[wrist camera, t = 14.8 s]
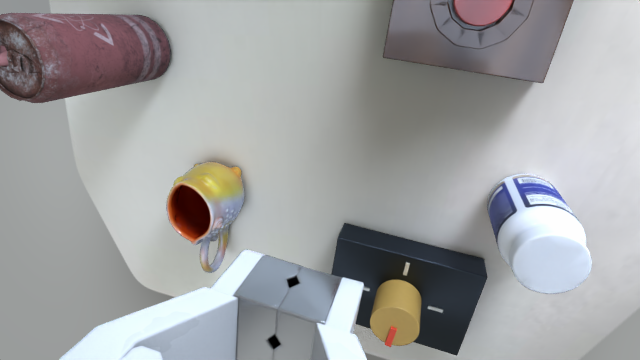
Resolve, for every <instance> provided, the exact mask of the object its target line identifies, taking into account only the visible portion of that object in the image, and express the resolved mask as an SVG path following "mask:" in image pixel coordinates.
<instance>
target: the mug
mask: <svg viewBox="0 0 640 360" xmlns="http://www.w3.org/2000/svg"><path fill="white" fill-rule="evenodd" d="M243 202H244V187H243V183H242V180H241V170H240V168H238V167H232V168H230V167H227V166H225V165H223V164H220V163H216V162H205V163H201V164H195V165H194V167H193V168H192V169H190V170H189V171H188V172H187V173H185V174H184V175H183V176H181V177H178V178H177V179H176V180H175V181H174V184H173V187H172V188H171V190H170V193H169V195H168V198H167V205H166V210H167V215H168V218H169V221H170V223H171V225H172V226H173V228H174V229H175V230H176V232H178V233H179V234H180V235H181V236H182V237H184V238H186V239H188V240H189V241H191V242H192V244H193V245H197V244H199V243H201V242H202V244H201V249H200V263H201V266H202V268H203V270H204V271H205V272H208V273H212V272H215V271H216V270H217V269H218V268H219V266H220V265H221V263H222V261H223V258H224V255H225V251H226V247H227V240H228V230H229V225H230V224H231V223H232V221H233V220H235V219H236V217H237V215H238V214H239V212H240V210H241V208H242V205H243ZM218 235H219V243H218V250H217V254H216V256H215V259H214V261H213V263H212V264H211V265H209V263H208V248H209V243H210V241H216V240H217V238H218Z"/></svg>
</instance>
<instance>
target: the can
mask: <svg viewBox="0 0 640 360" xmlns="http://www.w3.org/2000/svg"><path fill="white" fill-rule="evenodd" d="M170 54H171V50H170V45H169V41H168V39H167V37H166V35H165V33H164V32H163V30H162V29H161V28H160V27H159V26H158V24H157V23H155V22H154V21H153V20H151V19H150V18H148V17H145V16H142V15H111V14H41V13H8V14H1V15H0V90H1V91H3V92H4V93H5V94H7V95H8V96H10V97H12V98H14V99H17V100H20V101H21V100H25V101H28V102H31V103H43V102H48V101H53V100H57V99H62V98H67V97H72V96H77V95H81V94H86V93H91V92H96V91H101V90H105V89H110V88H115V87H120V86H124V85H129V84H134V83H139V82H143V81H148V80H153V79H156V78H158V77H160V76H161V75H162V74H163V73H164V72H165V71H166V70H167V67H168V64H169V61H170Z"/></svg>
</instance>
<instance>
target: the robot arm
mask: <svg viewBox="0 0 640 360" xmlns="http://www.w3.org/2000/svg"><path fill="white" fill-rule="evenodd" d="M363 287H364V283H363V282H360V281H356V280H352V279H348V278H344V277H343V278H342V277H338V276H335V275H331V274H327V273H324V272H320V271H317V270H313V269H310V268H306V267H303V266H300V265H297V264H294V263H291V262H287V261H284V260H281V259H278V258H275V257H271V256H268V255H264V254H261V253H258V252H254V251H251V250H248V249H246V250H244V251H242V252H241V253H240V254H239V255H238V257H237V258H236V259H235V260H234V261H233V262H232V264H231V265H230V266H229V267H228V268H227V269H226V271H225V272H224V273H223V274H222V275H221V276H220V278H219V279H218V280H217V281H216V282H215V283H214V284H213V286H212V287H211V288H210V289H209V288H206V287H203V288H200V289H197V290H195V291H192V292H189V293H187V294H184V295H181V296H178V297H176V298H173V299H170V300H167V301H165V302H162V303H159V304H156V305H154V306H151V307H148V308H145V309H143V310H140V311H137V312H135V313H132V314H129V315H127V316H124V317H121V318H118V319H115V320H113V321H110V322H107V323H104V324H102V325H100V326H96V327H95V328H94V329H93V330H92V331H91V332H90V333H88V334H87V335H86V336H85V337H84V338H83V339H82V340H80V341H79V342H78V343H77V344H76V345H75V346H74V347H73V348H71V350H69V351H68V352H67V353H66V354H65V355H64V356H63V357H61V358H60V359H59V360H367V358H366V356H365V353H364V351H363V349H362V346H361V344H360V342H359V340H358V337H357V335H354V334H353V332H354V328H355V323H356V319H357V314H358V310H359V305H360V301H361V296H362V292H363Z"/></svg>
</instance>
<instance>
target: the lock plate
mask: <svg viewBox="0 0 640 360" xmlns="http://www.w3.org/2000/svg"><path fill="white" fill-rule="evenodd" d="M332 275H335V276H338V277H342V278H343V277H344V278H348V279H352V280H356V281H360V282H363V283H364V287H363V292H362V296H361V301H360V305H359V310H358V314H357V319H356V323H355V324H358V325H361V326H364V327H367V328H371V326H370V318H371V314H372V310H373V305H374V301H375V297H376V292H377V289H378V288H379V286H380V285H381V284H383V283H384V282H386V281H389V280H402V281H406V282H408V283H410V284H411V285H413V286H414V287H415V288H416V289H417V290H418V292H419V293H420V296H421V316H420V331H419V335H418V337H417V338H416V339H415V340H414V341H413V342H416V343H419V344H422V345H425V346H428V347H432V348H435V349H438V350H441V351H444V352H448V353H451V354H454V355H457V354H458V352H459V349H460V347H461V344H462V342H463V339H464V336H465V334H466V331H467V329H468V326H469V323H470V321H471V318H472V316H473V313H474V311H475V308H476V305H477V303H478V300H479V298H480V295H481V292H482V290H483V287H484V285H485V282H486V280H487V273H486V267H485V262H484V259H482V258H478V257H474V256H470V255H467V254H463V253H459V252H455V251H451V250H447V249H443V248H439V247H436V246H432V245H428V244H424V243H420V242H416V241H412V240H408V239H404V238H401V237H397V236H393V235H389V234H385V233H381V232H377V231H373V230H370V229H366V228H362V227H358V226H354V225H350V224H346V223H345V224H344V226H343V228H342V230H341V232H340V234H339V236H338V240H337V246H336V252H335V257H334V263H333V269H332Z"/></svg>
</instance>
